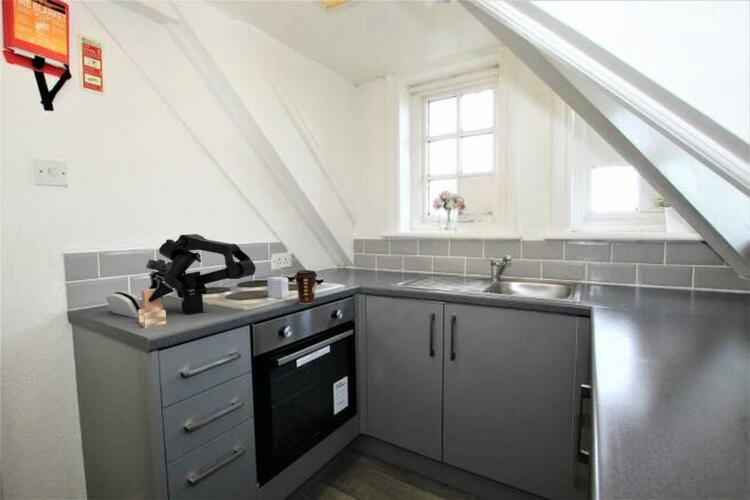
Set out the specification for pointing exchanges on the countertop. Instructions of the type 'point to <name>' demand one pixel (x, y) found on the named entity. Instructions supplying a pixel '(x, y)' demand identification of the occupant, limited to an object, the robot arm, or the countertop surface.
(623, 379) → the countertop surface
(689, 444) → the countertop surface
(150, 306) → the peach tall block
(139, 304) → the white dark-banded wedge
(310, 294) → the coffee cup
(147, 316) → the tan wooden block
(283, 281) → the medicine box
